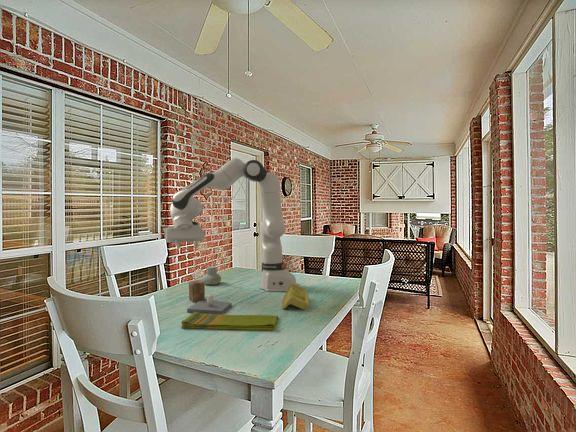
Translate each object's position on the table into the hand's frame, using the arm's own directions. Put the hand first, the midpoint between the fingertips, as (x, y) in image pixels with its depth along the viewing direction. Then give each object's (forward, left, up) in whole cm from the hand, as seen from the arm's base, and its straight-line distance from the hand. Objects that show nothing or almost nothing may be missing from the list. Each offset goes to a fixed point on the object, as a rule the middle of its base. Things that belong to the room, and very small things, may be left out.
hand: (188, 247), depth 173 cm
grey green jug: (-2, -24, -25) cm, 34 cm away
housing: (-8, +8, -25) cm, 27 cm away
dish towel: (-36, +35, -25) cm, 56 cm away
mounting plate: (-20, +20, -25) cm, 38 cm away
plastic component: (-57, +6, -25) cm, 63 cm away
